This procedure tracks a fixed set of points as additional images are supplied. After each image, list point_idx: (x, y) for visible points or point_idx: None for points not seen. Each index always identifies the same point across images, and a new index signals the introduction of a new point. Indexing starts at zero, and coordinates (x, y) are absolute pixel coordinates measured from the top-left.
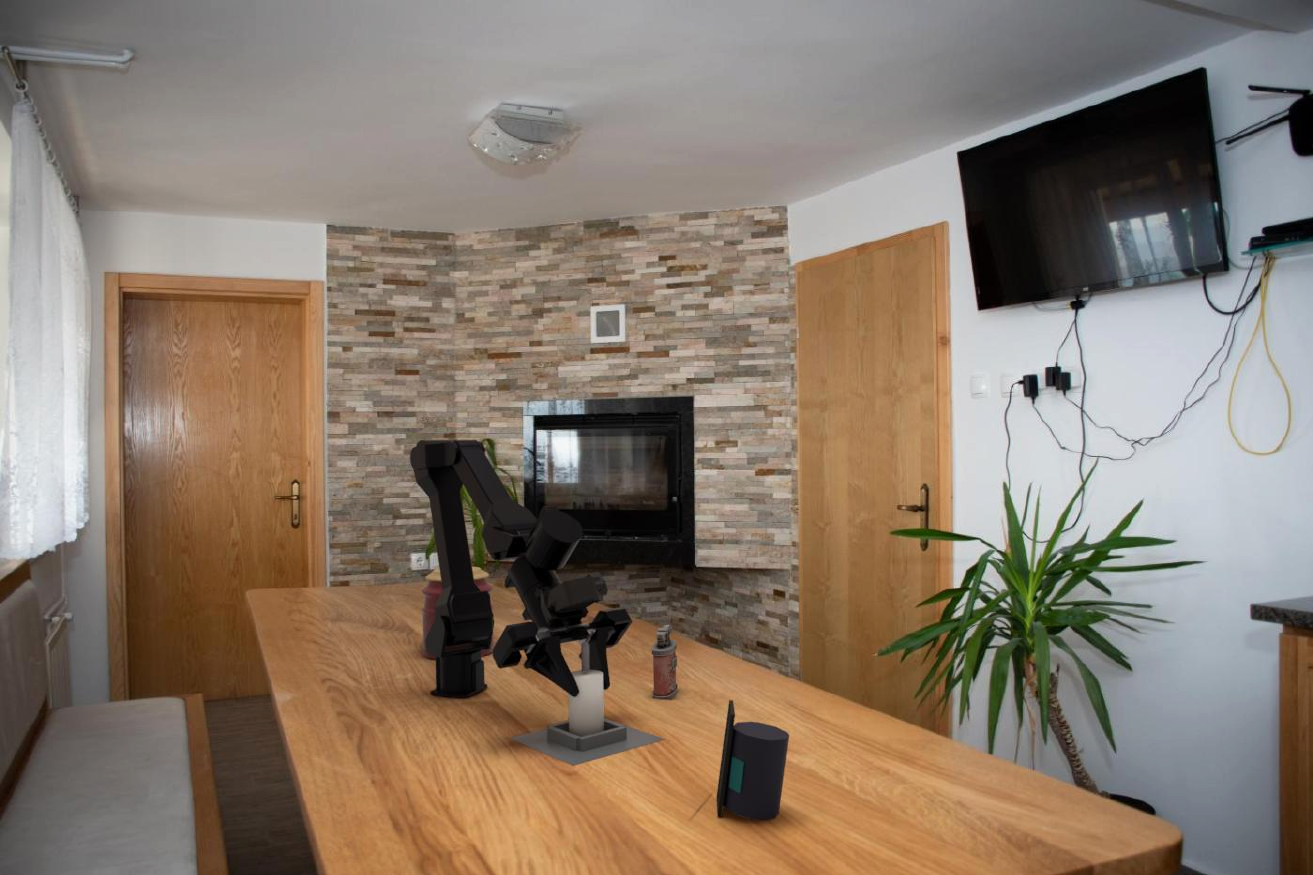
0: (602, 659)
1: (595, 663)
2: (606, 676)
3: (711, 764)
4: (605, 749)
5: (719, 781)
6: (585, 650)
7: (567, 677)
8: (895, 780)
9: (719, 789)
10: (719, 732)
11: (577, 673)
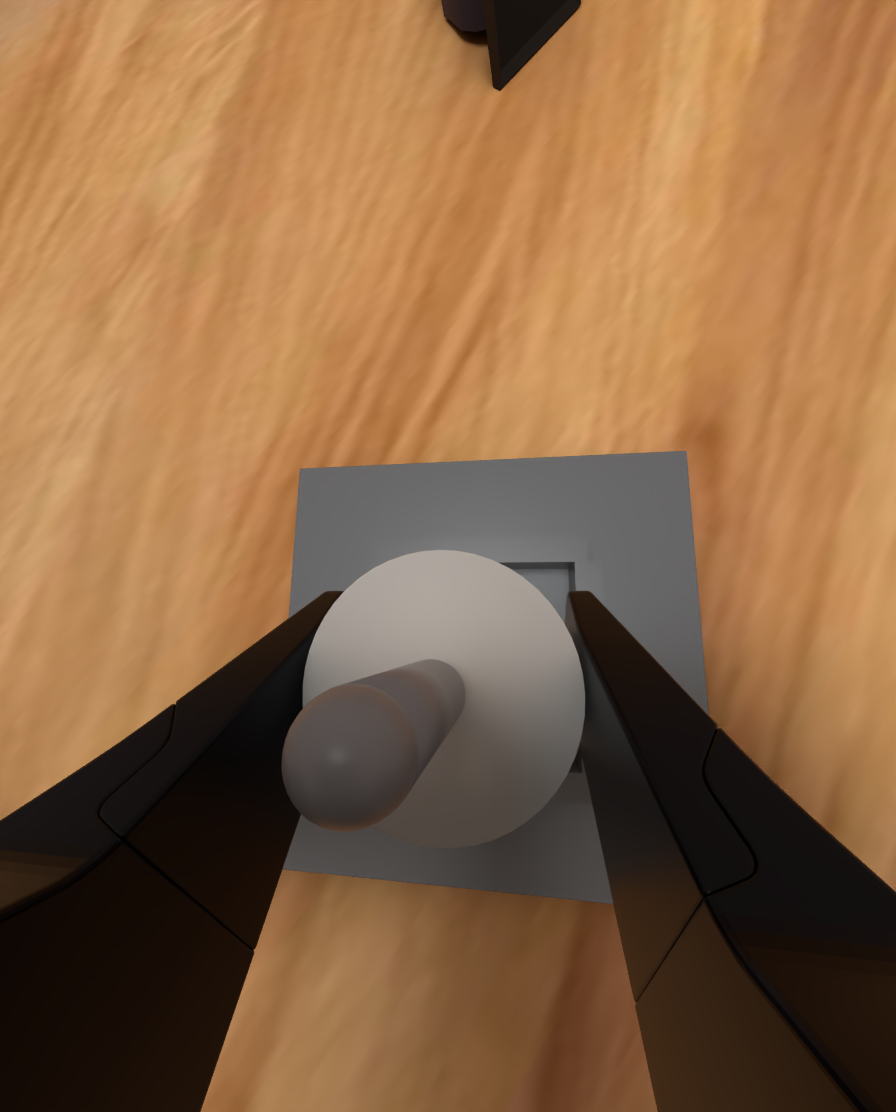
0: (210, 711)
1: (254, 783)
2: (308, 619)
3: (345, 264)
4: (504, 511)
5: (495, 31)
6: (403, 690)
7: (654, 659)
8: (168, 5)
9: (507, 38)
10: (136, 451)
11: (477, 753)
